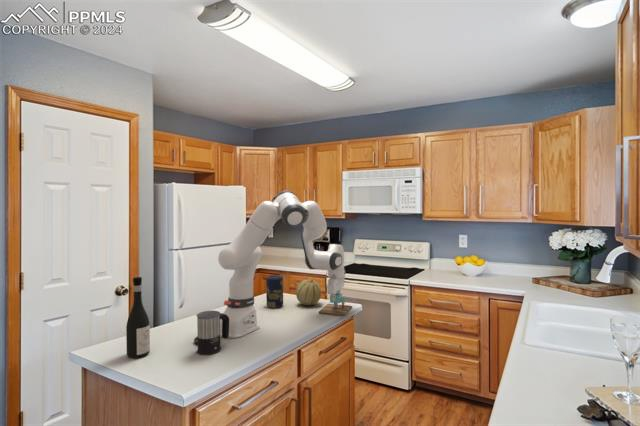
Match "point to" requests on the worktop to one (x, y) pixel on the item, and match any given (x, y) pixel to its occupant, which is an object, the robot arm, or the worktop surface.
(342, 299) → the teal frame with handle
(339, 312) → the board
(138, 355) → the wine bottle
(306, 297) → the cantaloupe
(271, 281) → the canister
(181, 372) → the worktop surface
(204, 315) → the milk frother
